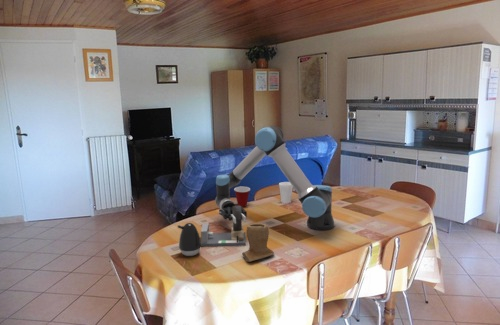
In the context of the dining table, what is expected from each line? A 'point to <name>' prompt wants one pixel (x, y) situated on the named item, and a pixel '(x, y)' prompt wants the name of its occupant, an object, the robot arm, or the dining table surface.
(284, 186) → the foam cup
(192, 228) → the pump dispenser
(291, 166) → the robot arm
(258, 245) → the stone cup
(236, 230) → the gauge slider
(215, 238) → the gauge base
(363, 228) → the dining table surface
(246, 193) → the plastic cup
